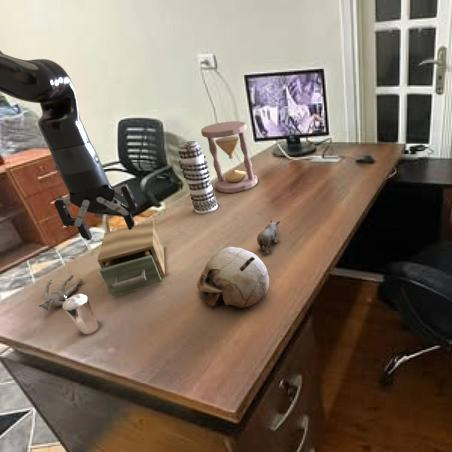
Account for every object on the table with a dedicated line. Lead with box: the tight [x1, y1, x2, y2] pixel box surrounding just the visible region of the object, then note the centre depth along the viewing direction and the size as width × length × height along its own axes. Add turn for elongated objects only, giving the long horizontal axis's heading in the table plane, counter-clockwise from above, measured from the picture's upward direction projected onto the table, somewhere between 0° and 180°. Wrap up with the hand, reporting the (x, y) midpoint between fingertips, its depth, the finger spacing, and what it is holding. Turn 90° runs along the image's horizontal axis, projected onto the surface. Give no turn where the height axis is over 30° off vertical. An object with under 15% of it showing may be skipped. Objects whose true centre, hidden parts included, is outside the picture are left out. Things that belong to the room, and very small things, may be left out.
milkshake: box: [60, 293, 99, 335], centre depth 77 cm, size 4×5×10 cm
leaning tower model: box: [176, 140, 219, 214], centre depth 126 cm, size 9×9×25 cm
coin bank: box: [196, 246, 270, 309], centre depth 83 cm, size 16×17×13 cm
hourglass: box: [200, 120, 259, 194], centre depth 145 cm, size 18×18×25 cm
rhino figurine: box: [256, 219, 281, 255], centre depth 105 cm, size 4×14×6 cm, turn 166°
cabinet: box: [97, 220, 166, 278], centre depth 97 cm, size 16×13×10 cm
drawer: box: [99, 249, 163, 298], centre depth 92 cm, size 19×12×8 cm, turn 24°
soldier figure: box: [38, 274, 83, 311], centre depth 89 cm, size 8×5×12 cm
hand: (110, 233), depth 80 cm, fingers open, 8 cm apart
